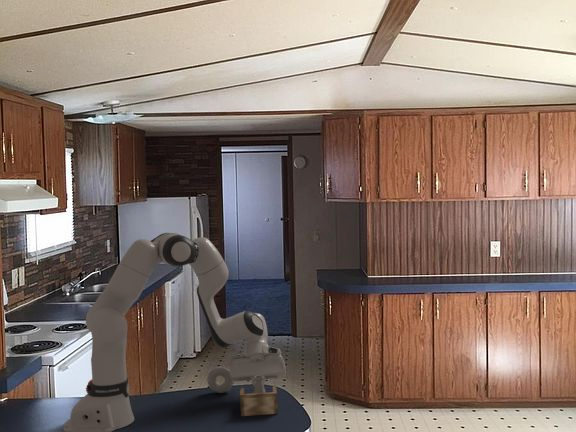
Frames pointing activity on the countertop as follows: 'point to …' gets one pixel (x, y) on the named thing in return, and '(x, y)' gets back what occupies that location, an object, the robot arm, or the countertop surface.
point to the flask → (259, 384)
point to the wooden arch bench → (258, 403)
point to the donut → (214, 384)
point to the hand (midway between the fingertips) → (258, 389)
